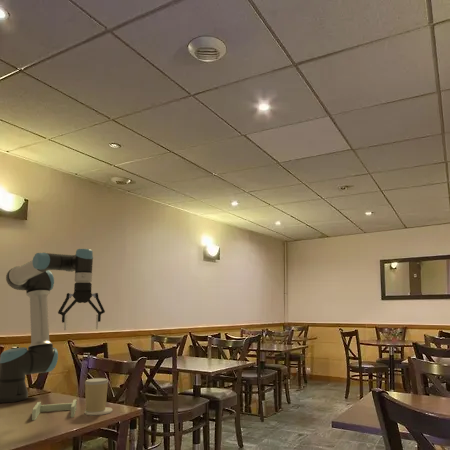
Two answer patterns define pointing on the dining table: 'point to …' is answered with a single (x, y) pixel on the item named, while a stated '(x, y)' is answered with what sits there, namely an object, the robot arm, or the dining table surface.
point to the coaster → (106, 411)
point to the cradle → (53, 408)
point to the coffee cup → (96, 394)
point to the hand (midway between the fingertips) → (81, 329)
